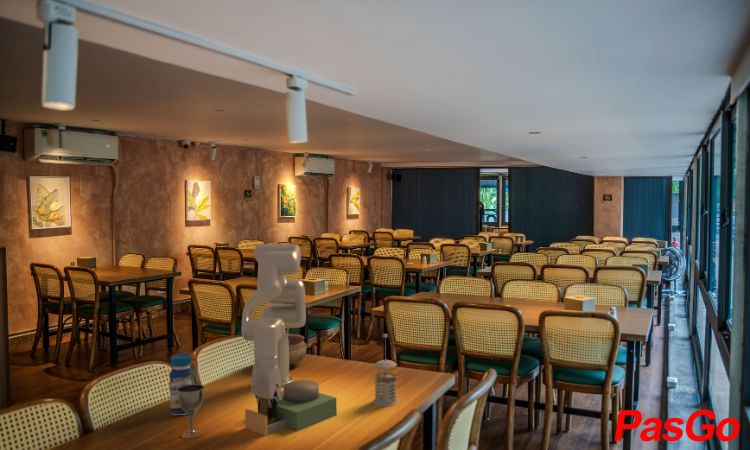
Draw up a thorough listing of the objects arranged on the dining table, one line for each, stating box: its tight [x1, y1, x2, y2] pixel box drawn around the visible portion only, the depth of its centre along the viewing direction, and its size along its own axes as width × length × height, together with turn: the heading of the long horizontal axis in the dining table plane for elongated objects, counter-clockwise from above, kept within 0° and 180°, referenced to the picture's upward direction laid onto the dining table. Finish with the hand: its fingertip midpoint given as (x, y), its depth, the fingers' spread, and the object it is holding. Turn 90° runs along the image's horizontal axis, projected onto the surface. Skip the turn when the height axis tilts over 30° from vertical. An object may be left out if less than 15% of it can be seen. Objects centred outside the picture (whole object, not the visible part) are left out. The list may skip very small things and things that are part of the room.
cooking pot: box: [285, 333, 312, 368], centre depth 265 cm, size 25×19×12 cm
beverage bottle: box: [168, 353, 195, 416], centre depth 208 cm, size 8×8×20 cm
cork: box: [259, 397, 276, 425], centre depth 194 cm, size 6×6×11 cm
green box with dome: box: [244, 379, 338, 437], centre depth 200 cm, size 20×27×10 cm
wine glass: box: [178, 383, 205, 436], centre depth 188 cm, size 8×8×15 cm
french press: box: [372, 333, 400, 407], centre depth 216 cm, size 10×12×25 cm
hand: (267, 416), depth 194 cm, fingers closed on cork, 4 cm apart
